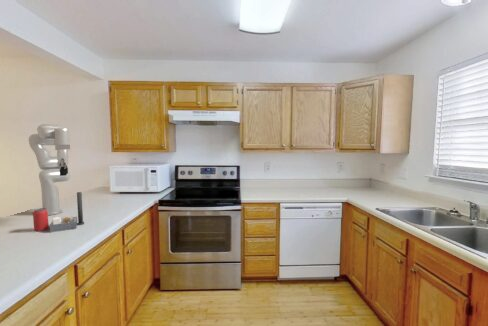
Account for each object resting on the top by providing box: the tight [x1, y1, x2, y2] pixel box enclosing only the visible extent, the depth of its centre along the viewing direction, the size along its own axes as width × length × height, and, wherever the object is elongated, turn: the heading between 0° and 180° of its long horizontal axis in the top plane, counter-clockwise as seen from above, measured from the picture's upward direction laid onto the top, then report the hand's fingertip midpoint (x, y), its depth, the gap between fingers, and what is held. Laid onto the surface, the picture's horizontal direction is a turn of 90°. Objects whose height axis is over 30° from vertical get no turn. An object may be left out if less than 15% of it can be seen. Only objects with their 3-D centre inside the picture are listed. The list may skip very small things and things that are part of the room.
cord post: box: [76, 191, 85, 226], centre depth 151 cm, size 4×4×20 cm
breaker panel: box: [49, 215, 78, 233], centre depth 146 cm, size 12×12×6 cm
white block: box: [52, 216, 62, 225], centre depth 141 cm, size 4×3×3 cm
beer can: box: [32, 207, 50, 232], centre depth 141 cm, size 7×7×12 cm
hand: (64, 174), depth 155 cm, fingers open, 9 cm apart
